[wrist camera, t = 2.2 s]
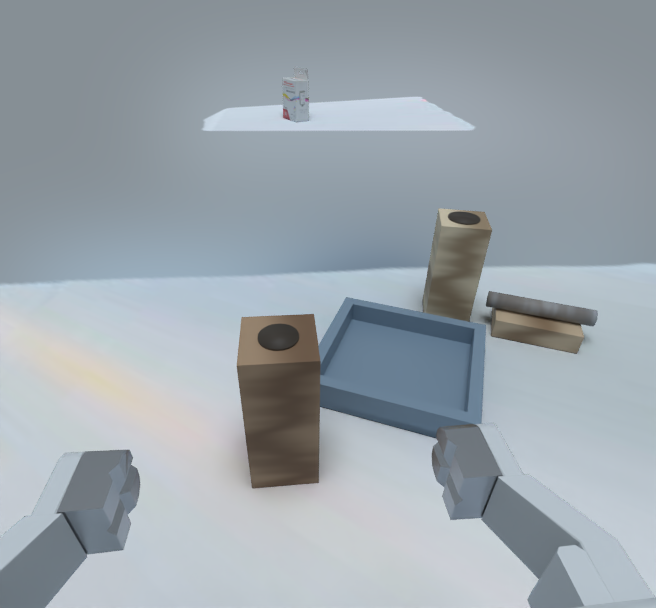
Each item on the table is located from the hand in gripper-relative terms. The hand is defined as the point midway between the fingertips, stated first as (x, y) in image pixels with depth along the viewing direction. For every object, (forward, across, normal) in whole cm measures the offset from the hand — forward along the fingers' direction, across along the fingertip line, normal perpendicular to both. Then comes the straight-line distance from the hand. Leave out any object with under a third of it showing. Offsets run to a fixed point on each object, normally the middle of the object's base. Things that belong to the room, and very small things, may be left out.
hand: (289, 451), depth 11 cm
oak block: (+30, +17, -17) cm, 38 cm away
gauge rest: (+26, +25, -17) cm, 40 cm away
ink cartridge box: (+140, +5, -18) cm, 142 cm away
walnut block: (+12, 0, -17) cm, 21 cm away
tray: (+21, +10, -17) cm, 28 cm away
